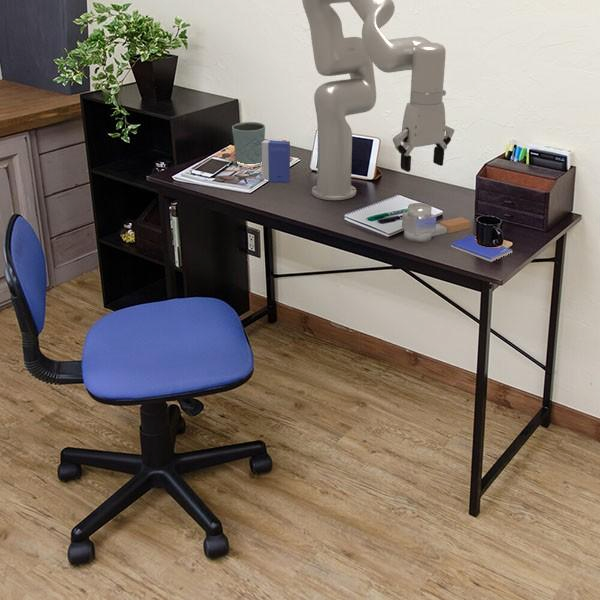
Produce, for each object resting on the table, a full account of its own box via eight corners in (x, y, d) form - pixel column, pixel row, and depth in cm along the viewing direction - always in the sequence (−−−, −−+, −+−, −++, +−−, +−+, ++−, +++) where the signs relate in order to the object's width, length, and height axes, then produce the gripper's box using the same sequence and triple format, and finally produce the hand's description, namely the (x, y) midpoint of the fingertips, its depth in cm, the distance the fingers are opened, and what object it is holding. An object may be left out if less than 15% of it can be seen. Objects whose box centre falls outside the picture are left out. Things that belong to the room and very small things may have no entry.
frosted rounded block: (401, 227, 233) (402, 205, 231) (421, 223, 236) (422, 201, 233) (415, 235, 228) (417, 212, 226) (435, 231, 231) (436, 208, 228)
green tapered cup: (265, 169, 282) (264, 130, 277) (232, 169, 282) (230, 130, 276) (266, 158, 291) (265, 121, 286) (233, 159, 291) (232, 121, 286)
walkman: (290, 179, 273) (289, 140, 268) (288, 182, 270) (287, 142, 265) (264, 178, 274) (263, 138, 269) (262, 181, 272) (261, 141, 267)
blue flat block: (512, 248, 223) (472, 234, 232) (491, 257, 218) (451, 242, 227) (512, 254, 224) (472, 240, 232) (490, 264, 219) (450, 248, 228)
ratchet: (456, 222, 242) (458, 204, 240) (473, 230, 237) (475, 212, 235) (398, 235, 234) (399, 216, 232) (414, 244, 229) (415, 225, 226)
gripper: (446, 89, 224) (441, 158, 232) (386, 98, 217) (383, 168, 224) (465, 96, 218) (459, 166, 226) (405, 105, 211) (401, 177, 218)
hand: (421, 167), depth 225 cm, fingers open, 9 cm apart
